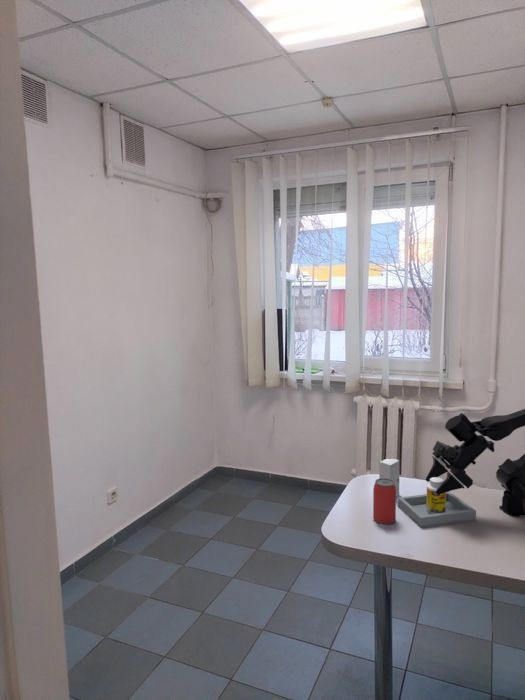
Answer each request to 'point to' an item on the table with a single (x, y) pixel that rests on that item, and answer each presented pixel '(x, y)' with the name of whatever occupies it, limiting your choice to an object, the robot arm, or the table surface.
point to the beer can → (384, 501)
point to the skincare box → (390, 471)
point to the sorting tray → (453, 513)
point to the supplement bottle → (435, 497)
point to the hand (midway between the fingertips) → (431, 486)
